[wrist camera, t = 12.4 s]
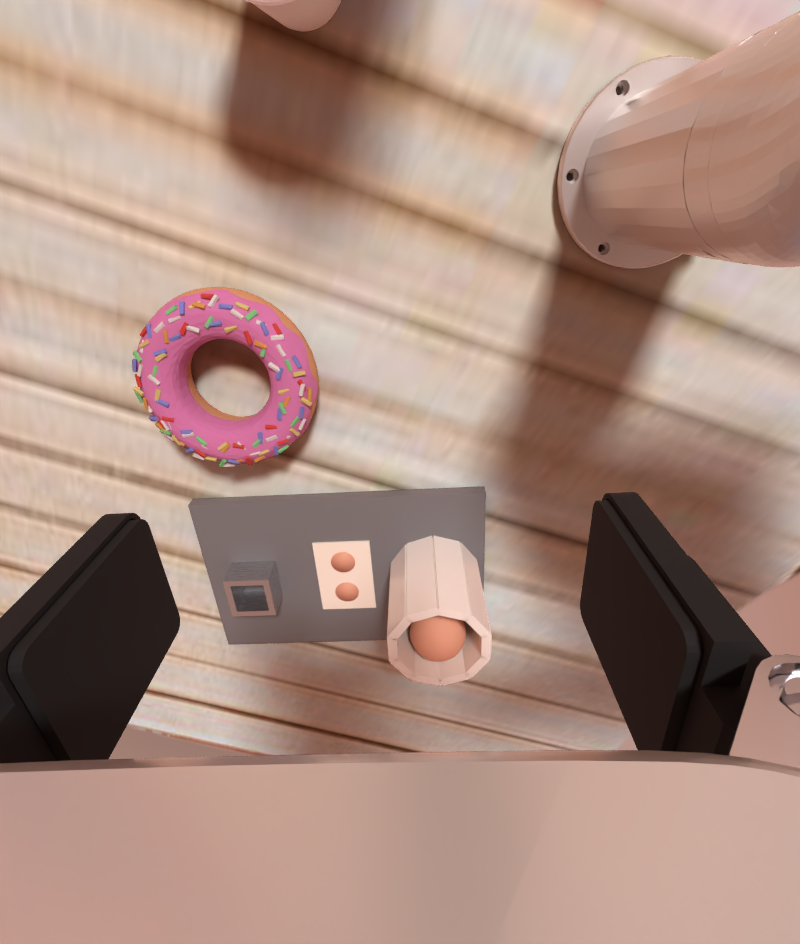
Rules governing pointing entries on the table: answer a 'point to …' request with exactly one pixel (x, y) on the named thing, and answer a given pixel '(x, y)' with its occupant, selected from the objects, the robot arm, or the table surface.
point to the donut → (182, 405)
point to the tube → (437, 608)
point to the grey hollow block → (253, 600)
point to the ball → (438, 637)
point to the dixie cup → (299, 12)
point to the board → (328, 554)
